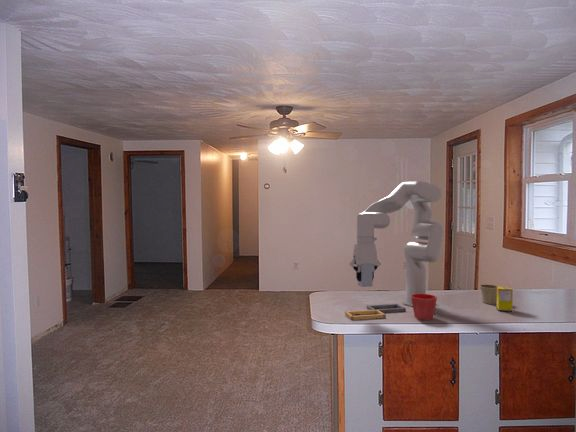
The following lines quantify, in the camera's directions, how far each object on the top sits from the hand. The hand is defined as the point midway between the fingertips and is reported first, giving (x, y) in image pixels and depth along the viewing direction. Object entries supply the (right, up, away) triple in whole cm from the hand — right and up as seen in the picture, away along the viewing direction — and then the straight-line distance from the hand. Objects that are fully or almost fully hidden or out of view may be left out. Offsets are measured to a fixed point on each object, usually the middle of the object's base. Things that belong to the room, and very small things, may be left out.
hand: (365, 280), depth 179 cm
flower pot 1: (+26, -17, -1) cm, 31 cm away
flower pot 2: (+69, -16, +25) cm, 75 cm away
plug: (0, -2, 0) cm, 2 cm away
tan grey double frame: (+6, -16, +6) cm, 18 cm away
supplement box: (+68, -16, +11) cm, 71 cm away
